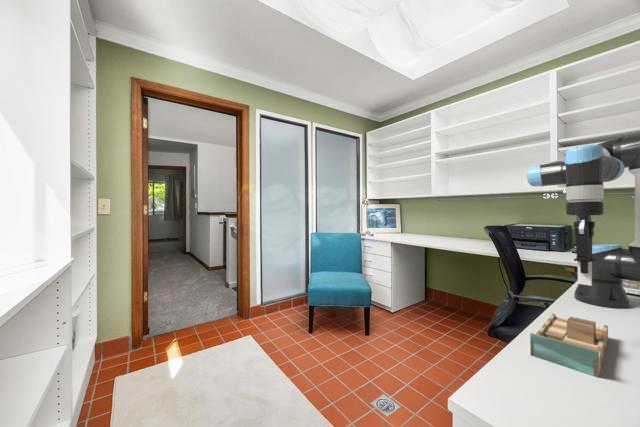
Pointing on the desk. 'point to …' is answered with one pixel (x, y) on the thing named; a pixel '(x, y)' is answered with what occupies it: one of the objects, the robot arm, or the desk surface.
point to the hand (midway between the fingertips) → (584, 284)
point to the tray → (568, 347)
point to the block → (581, 330)
